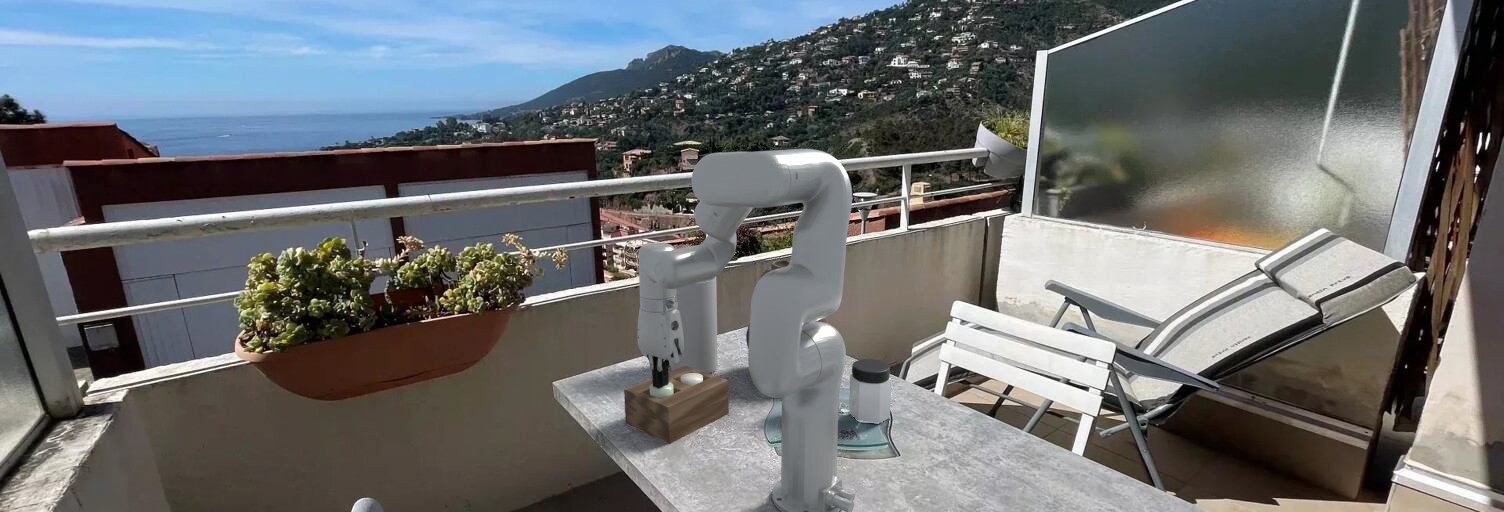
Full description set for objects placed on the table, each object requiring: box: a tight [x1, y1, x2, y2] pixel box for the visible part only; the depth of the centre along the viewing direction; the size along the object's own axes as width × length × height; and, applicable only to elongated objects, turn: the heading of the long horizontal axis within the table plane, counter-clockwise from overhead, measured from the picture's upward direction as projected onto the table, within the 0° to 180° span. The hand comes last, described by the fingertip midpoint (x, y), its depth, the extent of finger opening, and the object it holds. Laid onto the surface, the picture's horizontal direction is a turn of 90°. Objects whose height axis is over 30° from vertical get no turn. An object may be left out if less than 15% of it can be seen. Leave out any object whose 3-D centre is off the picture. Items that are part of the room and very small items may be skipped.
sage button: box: [650, 382, 674, 400], centre depth 136 cm, size 5×5×4 cm
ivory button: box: [681, 373, 703, 386], centre depth 143 cm, size 5×5×4 cm
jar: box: [848, 358, 892, 423], centre depth 141 cm, size 9×8×12 cm
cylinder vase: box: [670, 276, 719, 374], centre depth 167 cm, size 12×12×25 cm
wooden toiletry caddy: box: [623, 365, 730, 445], centre depth 140 cm, size 14×18×8 cm
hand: (660, 385), depth 136 cm, fingers closed
